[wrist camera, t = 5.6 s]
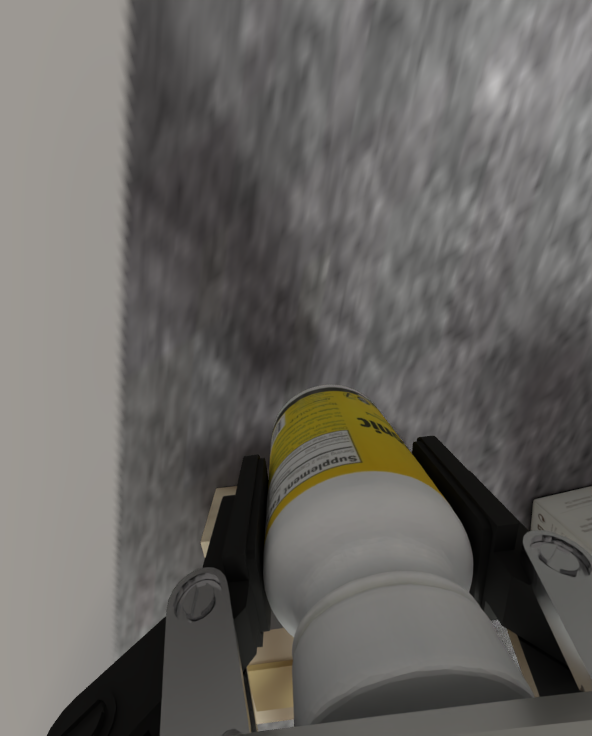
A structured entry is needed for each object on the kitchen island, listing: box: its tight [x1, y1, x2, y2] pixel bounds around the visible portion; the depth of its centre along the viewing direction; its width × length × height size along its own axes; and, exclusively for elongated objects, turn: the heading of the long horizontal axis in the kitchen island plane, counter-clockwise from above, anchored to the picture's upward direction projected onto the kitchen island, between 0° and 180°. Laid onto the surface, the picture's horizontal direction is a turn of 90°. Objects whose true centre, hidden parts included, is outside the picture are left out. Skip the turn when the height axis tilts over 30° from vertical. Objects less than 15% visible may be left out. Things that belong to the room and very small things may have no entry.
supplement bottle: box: [263, 385, 535, 727], centre depth 9 cm, size 5×5×10 cm
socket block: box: [200, 486, 294, 724], centre depth 20 cm, size 14×19×4 cm
